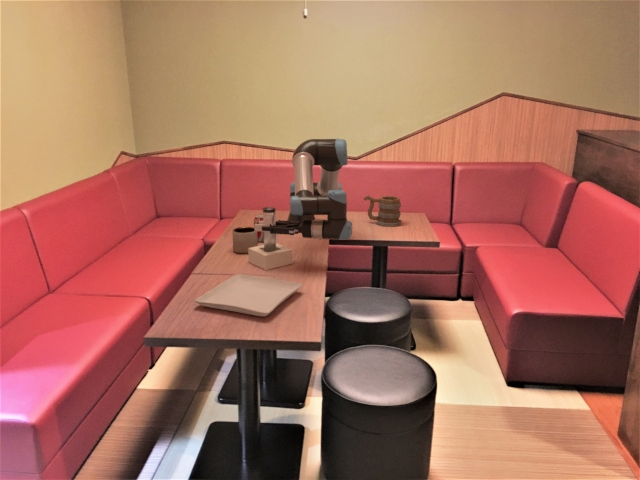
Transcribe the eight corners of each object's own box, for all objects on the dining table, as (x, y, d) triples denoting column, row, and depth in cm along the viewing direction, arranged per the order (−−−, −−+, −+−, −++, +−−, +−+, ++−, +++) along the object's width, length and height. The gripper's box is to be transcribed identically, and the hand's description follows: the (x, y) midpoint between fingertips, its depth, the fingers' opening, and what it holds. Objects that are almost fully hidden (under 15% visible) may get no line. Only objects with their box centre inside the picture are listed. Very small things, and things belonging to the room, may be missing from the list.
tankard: (401, 221, 283) (402, 194, 278) (400, 227, 271) (401, 199, 267) (364, 219, 287) (365, 192, 282) (361, 225, 275) (362, 197, 270)
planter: (228, 252, 229) (227, 231, 226) (240, 246, 239) (239, 225, 236) (250, 255, 225) (249, 233, 222) (261, 248, 235) (261, 227, 232)
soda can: (266, 243, 243) (266, 218, 240) (252, 242, 244) (251, 217, 241) (271, 239, 249) (270, 214, 246) (257, 238, 251) (256, 213, 248)
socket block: (274, 255, 224) (274, 242, 222) (292, 263, 214) (292, 249, 213) (248, 261, 216) (248, 248, 215) (265, 270, 207) (265, 255, 205)
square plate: (237, 282, 195) (236, 272, 193) (304, 293, 185) (304, 282, 183) (193, 309, 171) (193, 298, 169) (268, 323, 160) (267, 311, 159)
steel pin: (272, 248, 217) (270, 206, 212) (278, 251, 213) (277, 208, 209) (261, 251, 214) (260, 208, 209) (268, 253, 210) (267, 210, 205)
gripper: (308, 244, 200) (250, 240, 205) (317, 232, 217) (263, 229, 221) (307, 225, 198) (249, 222, 202) (317, 214, 215) (263, 212, 219)
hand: (257, 225), depth 212 cm, fingers closed on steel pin, 5 cm apart
